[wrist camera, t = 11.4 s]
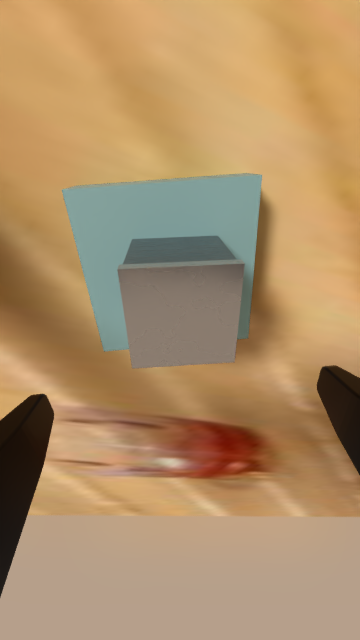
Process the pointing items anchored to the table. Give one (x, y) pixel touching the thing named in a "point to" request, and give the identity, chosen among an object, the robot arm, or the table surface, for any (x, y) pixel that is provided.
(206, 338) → the tin
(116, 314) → the teal box
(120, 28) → the table surface
